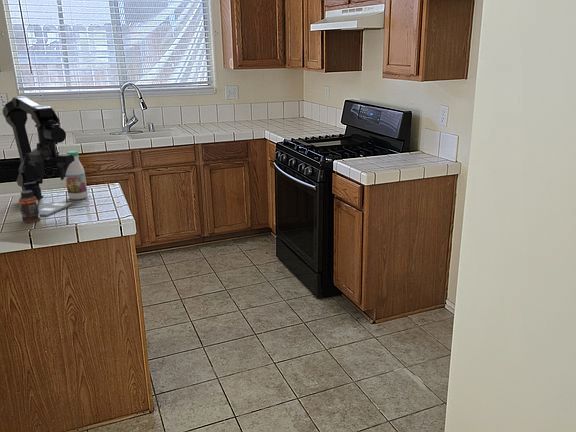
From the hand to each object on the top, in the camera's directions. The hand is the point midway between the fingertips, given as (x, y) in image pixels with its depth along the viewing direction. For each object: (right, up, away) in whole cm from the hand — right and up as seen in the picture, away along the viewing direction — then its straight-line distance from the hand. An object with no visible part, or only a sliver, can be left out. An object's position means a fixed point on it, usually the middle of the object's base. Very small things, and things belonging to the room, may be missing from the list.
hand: (52, 179), depth 202 cm
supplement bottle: (-2, -17, -13) cm, 21 cm away
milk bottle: (+3, -7, +18) cm, 20 cm away
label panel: (-2, -12, +1) cm, 12 cm away
